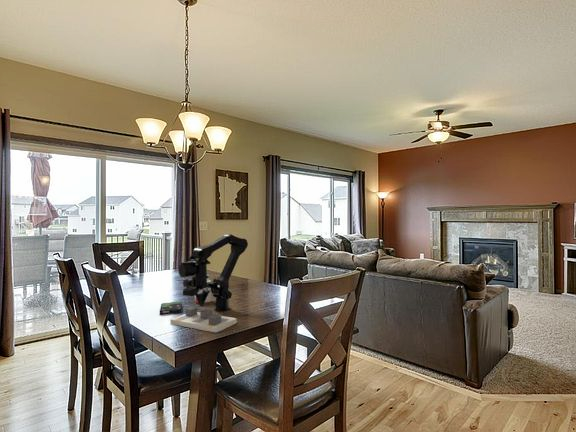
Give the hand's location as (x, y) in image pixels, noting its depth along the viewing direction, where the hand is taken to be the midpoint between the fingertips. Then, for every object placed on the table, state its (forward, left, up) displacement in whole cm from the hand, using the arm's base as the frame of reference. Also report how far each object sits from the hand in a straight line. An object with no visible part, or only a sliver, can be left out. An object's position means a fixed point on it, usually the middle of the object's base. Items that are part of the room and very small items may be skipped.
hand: (201, 306), depth 165 cm
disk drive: (-1, -21, -5) cm, 21 cm away
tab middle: (+7, +9, -2) cm, 11 cm away
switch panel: (+9, +9, -4) cm, 13 cm away
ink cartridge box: (-20, -17, -5) cm, 27 cm away
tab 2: (+12, +18, -2) cm, 22 cm away
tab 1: (+7, 0, -2) cm, 7 cm away
